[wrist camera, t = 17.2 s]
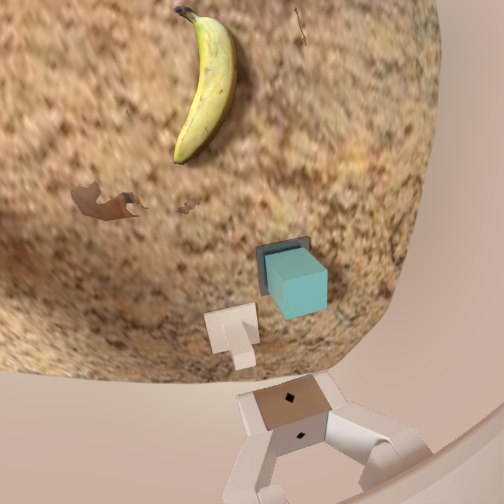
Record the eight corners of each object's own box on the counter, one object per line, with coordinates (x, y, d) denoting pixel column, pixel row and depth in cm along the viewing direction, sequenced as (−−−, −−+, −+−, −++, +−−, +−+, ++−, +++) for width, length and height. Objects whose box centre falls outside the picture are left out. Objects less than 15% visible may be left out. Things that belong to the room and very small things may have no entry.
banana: (280, 240, 42) (291, 252, 38) (62, 223, 33) (53, 235, 30) (331, -14, 29) (346, -23, 26) (114, -55, 21) (111, -70, 17)
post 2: (260, 294, 43) (277, 324, 37) (255, 246, 40) (273, 272, 34) (308, 282, 45) (331, 309, 39) (307, 235, 42) (332, 258, 35)
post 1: (212, 351, 45) (221, 385, 39) (203, 313, 42) (212, 347, 36) (258, 340, 47) (273, 372, 40) (254, 301, 44) (270, 332, 37)
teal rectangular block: (268, 291, 42) (285, 319, 36) (265, 255, 40) (283, 281, 34) (305, 282, 43) (326, 308, 37) (303, 247, 41) (327, 270, 35)
